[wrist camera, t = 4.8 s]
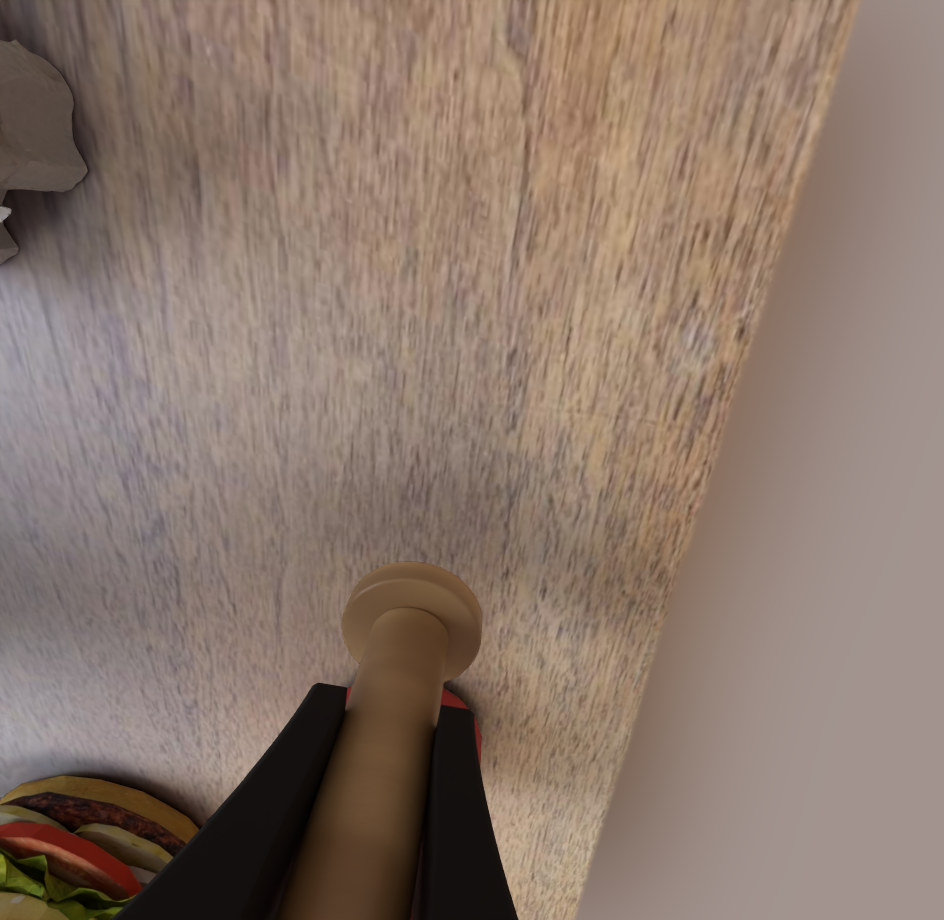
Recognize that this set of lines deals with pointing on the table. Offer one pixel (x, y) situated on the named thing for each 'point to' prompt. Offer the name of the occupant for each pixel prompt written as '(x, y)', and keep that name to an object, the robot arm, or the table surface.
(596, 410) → the table surface
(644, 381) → the table surface
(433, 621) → the wooden pestle
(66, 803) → the food
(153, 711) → the table surface
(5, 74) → the egg carton
